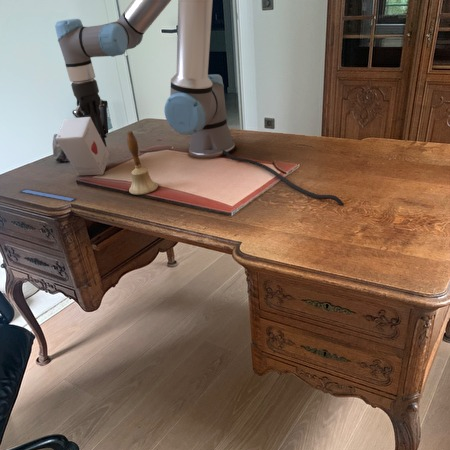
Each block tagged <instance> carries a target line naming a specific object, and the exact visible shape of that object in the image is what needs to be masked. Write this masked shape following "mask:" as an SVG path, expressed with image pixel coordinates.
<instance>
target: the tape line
mask: <svg viewBox="0 0 450 450" xmlns="http://www.w3.org/2000/svg"><path fill="white" fill-rule="evenodd" d="M21 193H25V194H30V195H36V196H42V197H45V198H51V199H56V200H62V201H68V202H72V201H74V200H75V198H72V197H67V196H62V195H56V194H51V193H46V192H40V191H34V190H30V189H24V190H22V191H21Z"/></svg>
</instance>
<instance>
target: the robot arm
mask: <svg viewBox="0 0 450 450" xmlns="http://www.w3.org/2000/svg"><path fill="white" fill-rule="evenodd" d="M171 2H172V0H132V1H131V2H130V3H129V4H128V6H127V7H126V8H125V10H124V11H123V13H122V14H121V15H120V16H119V18H118V19H117V20H116V21H112V22H109V23H104V24H98V25H91V26H84V25H83V22H82V20H81V19H80V18H70V19H69V18H68V19H63V20H59V21H56V22H55V24H54V28H55V32H56V37H57V42H58V44H59V47H60V50H61V54H62V57H63V60H64V64H65V69H66V72H67V75H68V79H69V81H70V82H71V84H70V87H71V89H72V92H73V96H74V97H75V98H76V108H75V109H73V110H72V111H71V112H72V114H73V116H74V118H81V117H91V119H92V121H93V123H94V125H95V127H96V129H97V131H98V133H99V135H100V137H101V139H102V141H103V143H104V145H105V147H106V148H107V141H106V139H107V137H108V136H107V135H108V134H109V121H108V110H107V109H108V101H107V100H104V99H102V98H101V96H100V94H99V92H100V89H99V86H98V81H97V80H96V79H95V78H96V73H95V70H94V66H93V61H92V58H101V57H117V56H123V55H124V54H125V53H126V51H127V50H131V49H135V48H136V47H138V46H139V45H140V44H141V43H142V41H143V37H144V34H145V33H146V32H147V30H148V29H149V28H150V27H151V26H152V25H153V23H154V22H155V21H156V20H157V18H158V17H159V16H160V15H161V13H162V12H163V11H165V9H166V8H167V6H168V5H169V4H170V3H171ZM177 2H178V3H177V31H176V32H177V35H176V36H177V37H176V70H175V71H176V72H175V75H173V76H172V77H171V78H170V94H169V95H170V96H169V97H168V98H167V100H166V102H165V103H164V108H163V109H164V110H163V111H164V116H165V120H166V122H167V124H168V125H169V126H170V127H171V128H172V129H173V130H174V131H175V132H176V133H178V134H180V135H183V136H190V139H189V145H188V151H189V153H188V154H189V156H190V157H192V158H195V159H203V160H204V159H207V160H208V159H217V158H222V157H225V156H227V157H228V158H229V159H231V160H232V161H235V162H242V163H247V164H252V165H254V166H257V167H259V168H262V169H264V170H266V171H267V172H269V173H271V174H272V175H274V176H275V177H276V178H278V179H279V180H281V181H282V182H283V183H284V184H286V185H287V186H289V187H290V188H292V189H294V190H296V191H297V192H299V193H302V194H303V195H306V196H308V197H309V198H310V197H311V198H314V199H317V200H332V201H334V202H336V204H338V206H340V207H343V206H345V204H344V203H343V201H342V200H341V199H340V197H338V196H336V195H334V194H318V193H314V192H312V191H309V190H307V189H304V188H302V187H300V186H298V185H296V184H295V183H293V182H291V181H290V180H289V179H287V178H286V177H285V176H283V175H282V174H280V173H279V172H278V171H276V170H274V169H273V168H272V167H269V166H267V164H263V163H261V162H259V161H257V160H252V159H250V158H243V157H238V156H234V155H232V154H231V153H233V152H234V151H235V150H236V143H235V141H234V139H233V137H232V134H231V131H230V128H229V126H228V121H227V120H228V119H227V109H226V108H227V107H226V99H225V85H224V82H223V77H222V76H221V75H220V74H215V73H214V74H209V62H210V45H211V33H212V32H211V31H212V16H213V15H212V14H213V0H177Z"/></svg>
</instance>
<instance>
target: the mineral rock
mask: <svg viewBox="0 0 450 450" xmlns="http://www.w3.org/2000/svg"><path fill="white" fill-rule="evenodd" d="M57 135H58V133H55V134H53V137H52V153H53V157H54V160H55V162H58V163H59V162H70V161H69V160H68V158H67V156H66V155H65V153H64V151H63V150H62V148H61V147H60V145H59V143H58V142H57V140H56V137H57Z"/></svg>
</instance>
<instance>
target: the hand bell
mask: <svg viewBox="0 0 450 450" xmlns="http://www.w3.org/2000/svg"><path fill="white" fill-rule="evenodd" d="M126 143H127V147H128V149H129V152H130V154H131V156H132V159H133V165H134V169H133V170H132V171H131V185H130V187H129V189H128V191H129V192H128V193H129V194H130V195H134V196H135V195H136V196H140V195H141V196H142V195H147V194H150V193H152V192H154V191H156V190H157V189H158V187H159V185H158V183H157V182H155V181H154V180H153V179H152V178H151V176H150V174H149V171H148V169H147V168H146V167H143V166H142V164H141V161H140V156H139V144H138V141H137V138H136V136H135V134H134V133H133V131H132V130H129V131H127V133H126Z"/></svg>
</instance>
